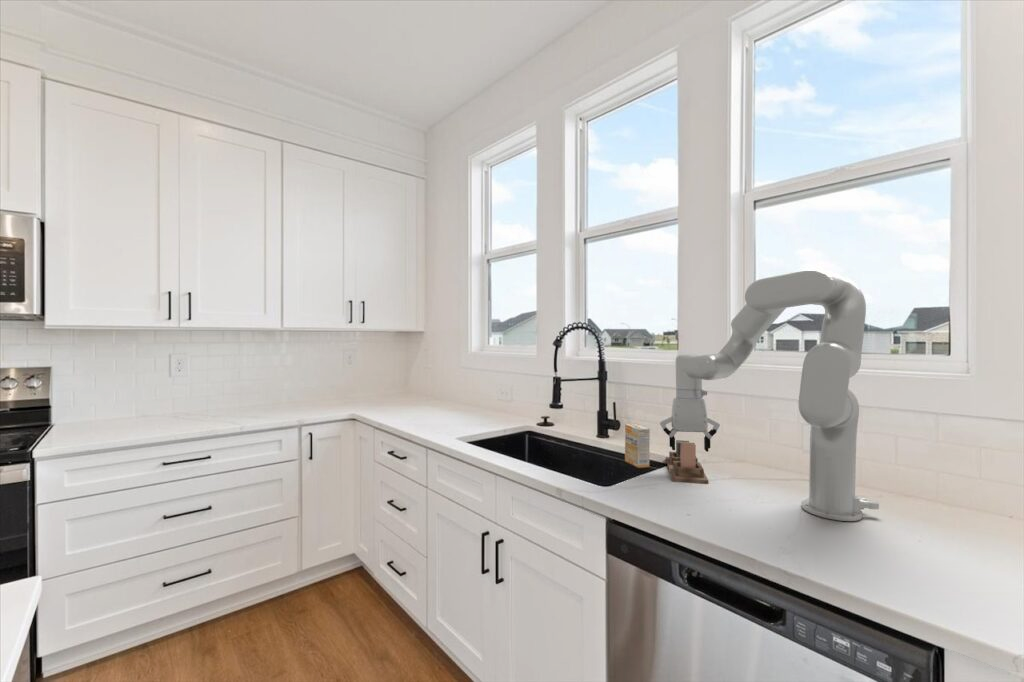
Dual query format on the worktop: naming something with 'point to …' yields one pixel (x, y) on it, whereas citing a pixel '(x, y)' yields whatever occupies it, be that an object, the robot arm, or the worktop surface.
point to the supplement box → (637, 445)
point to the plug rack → (684, 473)
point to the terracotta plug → (687, 455)
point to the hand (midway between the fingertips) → (689, 450)
